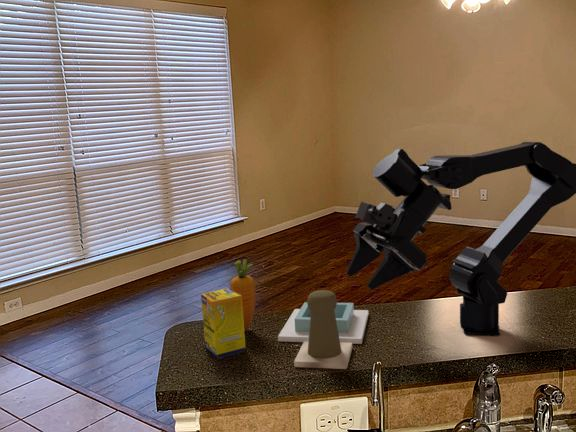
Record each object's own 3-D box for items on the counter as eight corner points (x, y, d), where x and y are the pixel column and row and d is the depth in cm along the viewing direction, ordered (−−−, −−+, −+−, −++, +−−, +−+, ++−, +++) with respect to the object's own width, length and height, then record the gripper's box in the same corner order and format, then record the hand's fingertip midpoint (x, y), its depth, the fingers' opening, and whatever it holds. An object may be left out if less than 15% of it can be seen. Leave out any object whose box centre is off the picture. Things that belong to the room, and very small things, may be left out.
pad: (352, 347, 105) (352, 342, 105) (346, 369, 96) (346, 363, 96) (304, 346, 107) (304, 341, 107) (294, 366, 98) (294, 361, 98)
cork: (332, 342, 105) (330, 284, 104) (347, 354, 100) (344, 293, 98) (302, 348, 103) (299, 290, 101) (315, 361, 98) (312, 299, 96)
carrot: (247, 324, 120) (242, 255, 118) (263, 329, 117) (258, 258, 114) (228, 331, 117) (223, 260, 114) (244, 337, 113) (239, 263, 111)
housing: (368, 314, 122) (368, 298, 121) (361, 343, 106) (360, 326, 106) (295, 313, 125) (294, 297, 125) (278, 341, 110) (277, 323, 109)
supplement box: (204, 349, 108) (199, 293, 107) (233, 341, 111) (229, 287, 109) (216, 359, 103) (211, 301, 101) (246, 351, 106) (242, 294, 104)
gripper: (360, 180, 109) (309, 243, 108) (408, 190, 91) (347, 266, 90) (399, 216, 112) (349, 278, 111) (452, 232, 95) (394, 306, 93)
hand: (358, 281), depth 101 cm, fingers open, 9 cm apart
